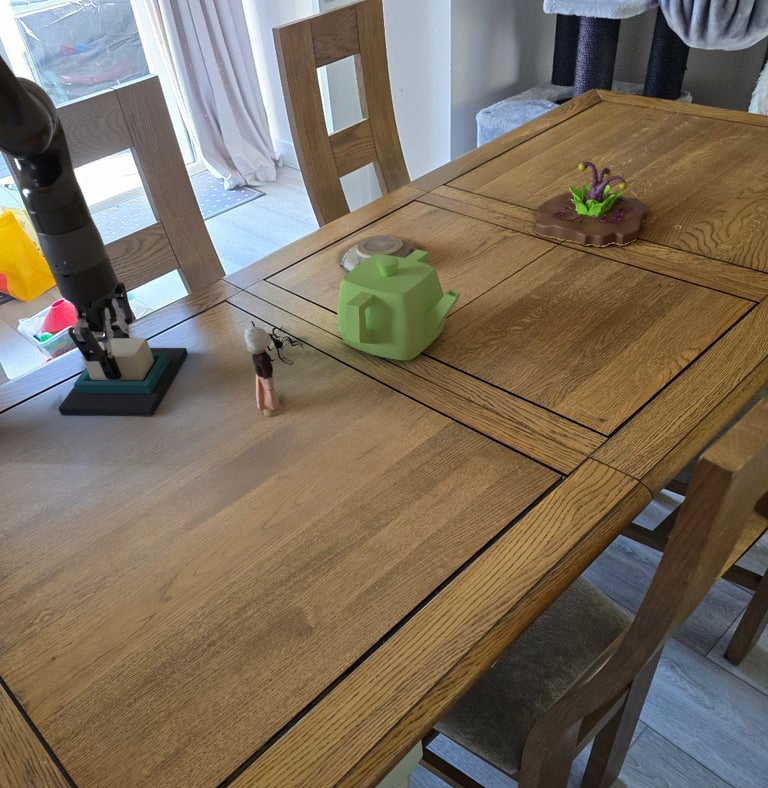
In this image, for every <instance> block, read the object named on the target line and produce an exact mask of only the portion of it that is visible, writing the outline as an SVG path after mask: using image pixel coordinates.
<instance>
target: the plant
mask: <svg viewBox="0 0 768 788" xmlns="http://www.w3.org/2000/svg"><path fill="white" fill-rule="evenodd" d="M588 167H590V168H591V172H592V179H591V187H589V186H588V185H587V184H585V183H583V184H582V186H581V190H580V188H577V187H574V186H569V188H568V189H569V191H570V192H569V191H568V192H566V193H562V194H558V195H556V196H554V197H551V198H550V199H548V200H547V201H545V202H544V203H543V204H542V205H541V206H540V207H539V208H538V209H537V210H536V215H535V222H536V221H537V222H536V223H535V229H534V233H535V232H537V233H540V234H542V235H548V236H554V237H557V238H560V239H566V240H572V241H577V242H580V243H582V244H583V245H586V244H595V245H600V246H602V245H606V244H608V243H612V242H615V243H619V244H625V243H628V242H631V241H633V240H635V239H636V238H637V239H638V238H639V233H640V228H641V226H642V225H643V223H642V222H643V221H644V220H646V221H647V217H648V212H649V210H648V209H647V207H646V205H645V203H644V202H642V201H640V200H639V199H638V198H636V197H626V196H622V195H623V194H624V190H626V189H627V188H628V183H627V181H626V180H625V179H623V178H624V177H621V176H620V175H611V174H612V172H611V169H610V168H608V167H604V168H603V169H602V170H601V171H600V174H599V173H598V169H597V167H596V165H595V164H594V163H593V162H591V161H587V160H586V161H582V162H581V163H579V164H578V167H577V168H578V171H579V172H585V171H586V170H587V169H588ZM604 177H607V178H606V179H604ZM614 180H615V181H616V180H619V189H620V190H622V191H616V192H614V193H610V188H611V186H610V185H609V184H610V183H611V181H614ZM640 225H641V226H640ZM637 239H636V240H637Z"/></svg>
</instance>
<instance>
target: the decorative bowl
mask: <svg viewBox="0 0 768 788" xmlns="http://www.w3.org/2000/svg"><path fill="white" fill-rule="evenodd" d="M415 250H417V248H416V247H415V246H414V245H413V244H411V242H410V243H409V242H408V241H406V240H403V239H402V238H401V239H400V238H399V237H397V236H395V235H389V234H379V235H372V236H369V237H366V238H364V239H362V240H361V241H360V242H358V243H357V244H354V245H353V246H352V247H351V248H350V249H348V250H347V252H346V253H345V254H344V255H343V258H342V260H341V261H342V263H341V262H340V264H341V265H342V266H341V267H343V269H344V270H345V272H347V273H349V272H350V271H351V270H352V269H354V268H355V267H356V266H358V265H359V264H360V263H362V262H363V261H365V260H366V259H368V258H370V257H371V256H373V255H389V256H396V257H401V258H406V257H407V256H409V255H410V254H411V253H413V252H414V251H415Z"/></svg>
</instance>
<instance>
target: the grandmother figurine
mask: <svg viewBox="0 0 768 788" xmlns="http://www.w3.org/2000/svg"><path fill="white" fill-rule="evenodd" d="M268 333H269V332H267V331H266V330H265V329H264V328H262V327H259V326H256V325H255V326H253V325H252V326H249V327H247V328H246V329H245V331H244V340H245V342H246V348H247V350H248V352H250V353H251V358H252V362H253V364H254V368H255V396H256V404H257V405H256V407H257V409H258V410H259V411H263V415H264V417H267V418H272V417H274V416H277V415H280V414H282V413H283V412H284V408H283V406H281V405H280V402H281V401H280V398H279V397H278V395H277V390H276V388H275V375H274V367H273V364H272V363H273V362H271V361H270V358H269V356H268V355H269V353H268V352H267V350H266V349H267V346H269V347H270V345H271V344H272V343H273V341H272V340H271V337H270V335H269V334H270V333H269V334H268ZM267 353H268V354H267Z"/></svg>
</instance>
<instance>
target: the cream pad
mask: <svg viewBox="0 0 768 788" xmlns="http://www.w3.org/2000/svg"><path fill="white" fill-rule="evenodd" d="M98 343H99V345H100V346H101V348H102V350H104V345H103V343H102V342H98ZM111 347H112V352H113V355H114V356H115V357H114V358H115V360H116V362H117V365H118V367H119V370H120V372H121V375H122V377H121V378H120V379H119V380H143V379H144V378H145V376H146V374H147V373H148V371H149V370H150V368H151V366H152V365H153V363H154V358H153V356H152V353H151V350H150V348H151V347H150V345H149V342H148V340H147V337H146V338H145V337H139V338H138V337H135V338H133V337H130V338H113V339H112V340H111ZM90 352H92V351H90ZM81 359H82V361H83V363H84V366H85V368H87V371H88V373H89V375H90V377H91V379H92V380H109V379H107V378H106V377H105V375H104V372H103V370H102V368H101V366H100V363H99V361H92V362H87V361H86V359H85V358H84V356H83V355H82V356H81Z"/></svg>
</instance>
